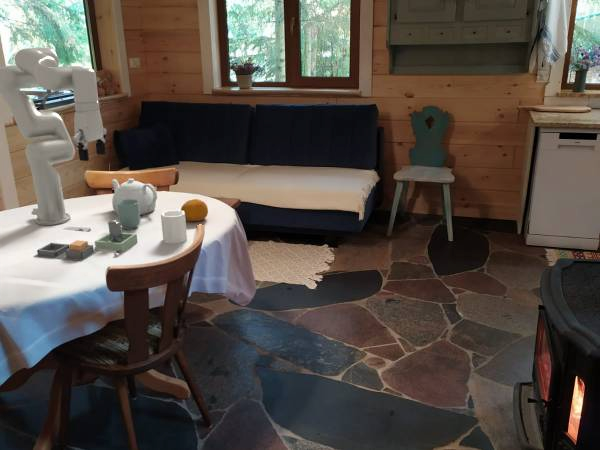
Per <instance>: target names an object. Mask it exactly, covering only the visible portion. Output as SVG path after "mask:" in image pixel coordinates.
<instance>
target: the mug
mask: <svg viewBox="0 0 600 450" xmlns="http://www.w3.org/2000/svg"><path fill="white" fill-rule="evenodd" d="M160 218H161V219H160V220H161V229H162V230H161V231H162V240H163V241H164V243H165V244H171V245H173V244H182V243H185V242H186V241H188V235H187V220H186V219H185V212H184V211H181V209H173V210H172V209H170V210H165V211H163V212H161V213H160Z"/></svg>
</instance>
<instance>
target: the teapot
mask: <svg viewBox="0 0 600 450" xmlns="http://www.w3.org/2000/svg"><path fill="white" fill-rule="evenodd" d="M109 182H110V183H111V184H112V187H113V190H114V193H113V196H112V198H111V199H112V208H113V209H112V210H113V212H115V214H117V215H118V210H117V203H118V202H119V201H121V200H126V199H134V200H138V201H139V207H140V216H141V215H146V214H149V213H151V212H153V211H154V210H155V208H156V204H157V202H156V201H157V199H158V195H157V194H158V193H157V191H156V188H155V187H154V186H153V184H151V183H143V182H140V181H138V180H135V179H134V178H128V179H127V181H124V182H122V183H121V184H120V183H119V181H118V180H117V179H115V178H113V179H111V180H110V181H109Z"/></svg>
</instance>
